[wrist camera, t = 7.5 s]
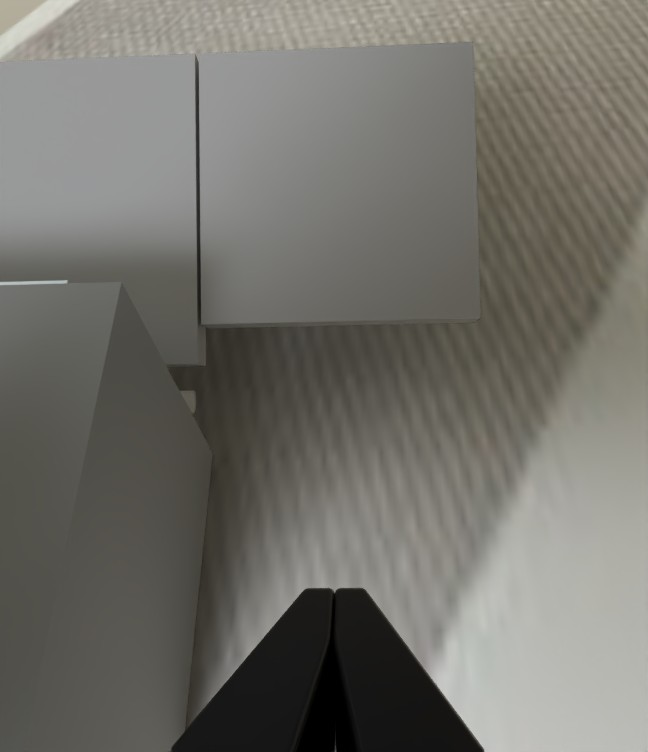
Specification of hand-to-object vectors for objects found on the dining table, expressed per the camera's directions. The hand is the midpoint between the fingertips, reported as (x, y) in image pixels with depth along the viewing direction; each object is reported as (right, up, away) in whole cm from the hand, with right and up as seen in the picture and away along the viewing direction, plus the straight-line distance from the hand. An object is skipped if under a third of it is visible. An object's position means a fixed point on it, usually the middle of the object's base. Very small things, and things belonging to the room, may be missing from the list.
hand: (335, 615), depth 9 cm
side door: (-4, +4, +7) cm, 9 cm away
